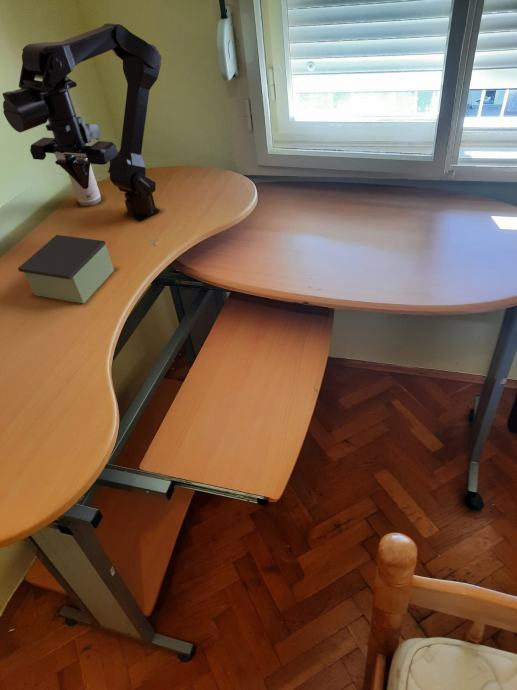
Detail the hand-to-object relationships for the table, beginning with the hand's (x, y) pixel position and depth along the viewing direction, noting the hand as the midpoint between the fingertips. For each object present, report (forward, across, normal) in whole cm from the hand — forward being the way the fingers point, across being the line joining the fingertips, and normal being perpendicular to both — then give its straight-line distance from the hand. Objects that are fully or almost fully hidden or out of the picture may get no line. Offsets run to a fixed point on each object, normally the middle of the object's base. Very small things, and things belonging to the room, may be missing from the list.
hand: (86, 188), depth 106 cm
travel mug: (+13, +14, -17) cm, 26 cm away
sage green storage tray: (+13, -4, +18) cm, 23 cm away
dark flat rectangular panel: (+6, -4, +18) cm, 20 cm away
